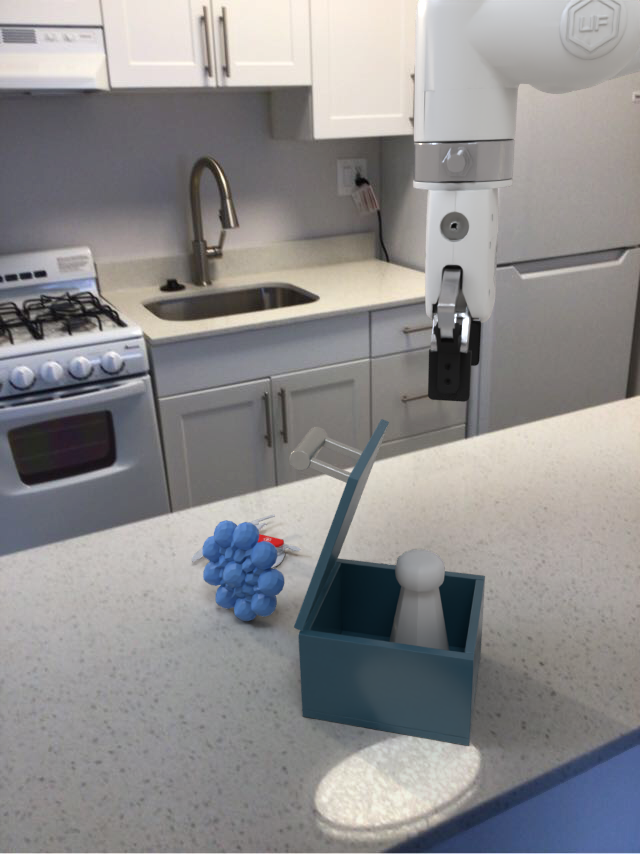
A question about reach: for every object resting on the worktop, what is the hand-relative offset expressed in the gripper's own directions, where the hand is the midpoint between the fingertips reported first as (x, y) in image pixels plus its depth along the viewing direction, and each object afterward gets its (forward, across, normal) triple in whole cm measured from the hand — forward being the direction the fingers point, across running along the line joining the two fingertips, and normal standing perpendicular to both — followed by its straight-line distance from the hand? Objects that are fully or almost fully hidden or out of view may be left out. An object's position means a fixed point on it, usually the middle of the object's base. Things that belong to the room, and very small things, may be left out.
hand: (455, 380), depth 64 cm
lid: (+12, -5, +8) cm, 15 cm away
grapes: (+28, +2, +21) cm, 35 cm away
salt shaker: (+28, -5, +2) cm, 28 cm away
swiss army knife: (+29, +15, +25) cm, 41 cm away
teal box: (+28, -5, +4) cm, 29 cm away
